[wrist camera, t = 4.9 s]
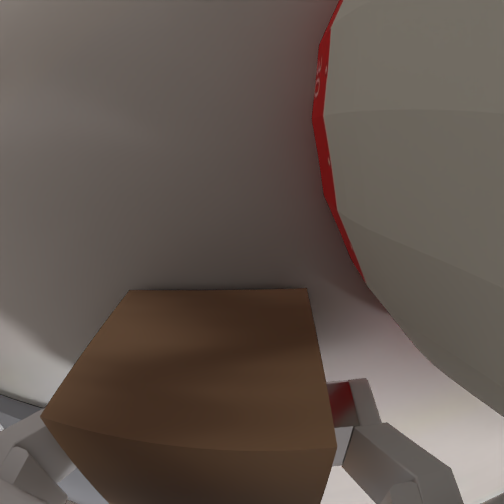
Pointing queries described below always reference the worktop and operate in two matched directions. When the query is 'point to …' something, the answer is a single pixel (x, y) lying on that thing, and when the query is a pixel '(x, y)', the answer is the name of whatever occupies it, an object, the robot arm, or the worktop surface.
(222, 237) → the worktop surface
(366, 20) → the kitchen timer
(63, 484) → the slate coaster
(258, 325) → the walnut block
